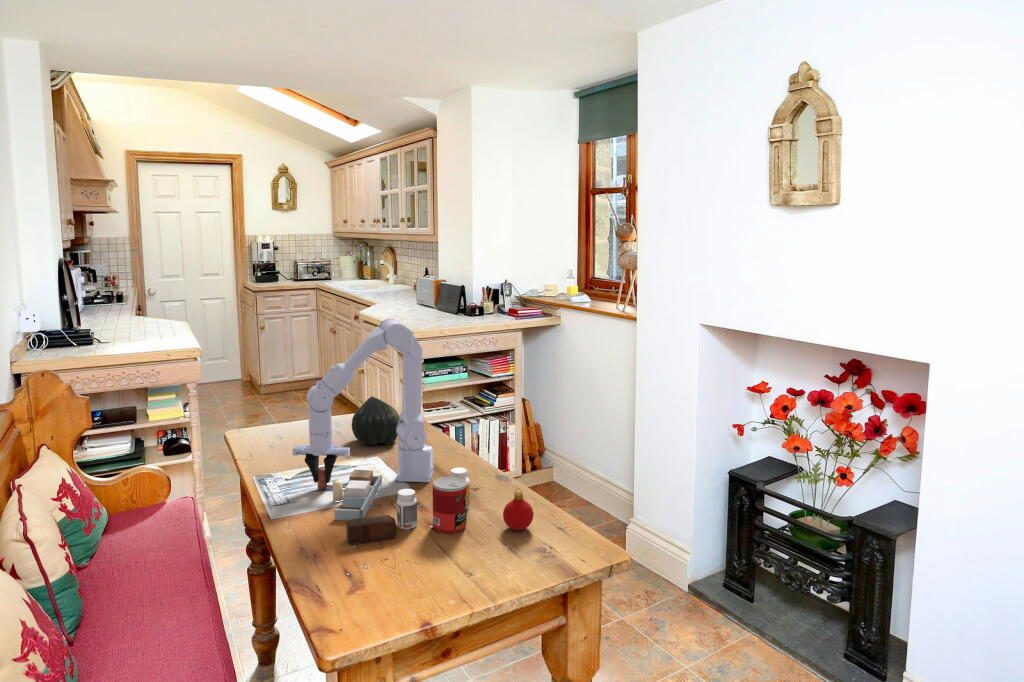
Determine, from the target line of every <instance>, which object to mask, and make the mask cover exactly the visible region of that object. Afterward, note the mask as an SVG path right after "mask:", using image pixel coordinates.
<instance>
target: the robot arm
mask: <svg viewBox="0 0 1024 682" xmlns="http://www.w3.org/2000/svg"><path fill="white" fill-rule="evenodd" d="M388 345H389V346H390V347H392V348H394V349H396V350H398V351H399V352H400V353H401V354H402V392H401V393H402V394H401V397H402V398H401V400H402V401H401V402H402V405H401V406H402V407H401V412H400V414H399V416H400V421H399V423H398V425H397V428H396V432H397V435H398V436H397V437H399V439H400V440H399V442H398V444H397V451H398V452H397V453H398V454H397V455H398V456H397V457H398V463H397V464H398V472H397V475H396V477H395V478H394V481H395V480H398V481H397V482H404V483H405V482H407V483H408V482H409V483H410V482H413V483H414V482H415V483H430V482H431V479H432V478H433V477H432V476H433V474H434V448H433V446H431V445H430V446H429V445H426V443H427V439H428V435H427V431H426V430H425V427H424V425H425V424H424V418H423V414H422V380H423V379H422V377H423V373H422V372H423V349H422V346H421V345H420V343H419V341H418V339H417V338H416V337H415V335H414V333H413V331H412V330H411V329H410V328H409V327H407V326H406V325H404V324H402V323H401V322H399V321H398V320H396V319H394V318H386V319H383V320H382V321H381V322H380V323H379V325H378V326H377V325H376V327H375V328H373V329H372V331H371V332H370V333H369V334H368V335H367V336H366V338H365V339H364V340H363V341H362V342H361V343H360V344H359V346H358V347H357V348H356V349H355V350H354V351H353V353H352V354H351V355H349V357H348V358H347V359H346V361H345V362H342V363H336V364H335V365H334V366H333V365H331V366H330V367H329V368H328V373H327V374H326V375H325V376H324V377H322V378H321V380H317V381H316V382H315V385H313V386H311V387H310V388H309V389H308V391H307V394H306V396H305V397H306V398H305V399H306V401H307V403H308V433H309V435H308V437H309V445H295V446H294V447H292V449H291V450H292V456H298V455H299V456H305V458H304V463H305V464H306V466H307V467H308V469H309V471H310V473H311V476H312V479H313V483H316V484H318V469H319V468H320V467H319V462H320V461H319V460H320V457H321V456H326V457H324V459H323V463H324V464H323V465H324V468H325V481H326V483H327V484H329V483H330V482H331V479H332V477H331V476H332V474H333V473H332V472H333V469H334V466H335V463H336V461H337V459H338V457H344V458H349V457H350V455H351V452H350V451H351V450H350V449H351V447H346V446H340V445H333V427H332V426H333V422H332V421H333V420H332V418H333V417H332V413H331V412H332V411H331V409H332V407H333V404H334V398H336V397H337V396H338V395H340V393H342V391H343V390H344V389H345V388H346V387H347V386H348V385H349V384H350V383H351V382H352V381H353V380H354V372H355V371H356V370H357V369H358V368H359V367H360V366H361V365H362V364H364V362H366V360H368V359H369V358H370V357H371V356H372V355H373V354H374V353H375V352H377V351H384V350H385V351H386V350H388V349H389V347H388Z"/></svg>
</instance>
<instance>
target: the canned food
mask: <svg viewBox="0 0 1024 682" xmlns="http://www.w3.org/2000/svg"><path fill="white" fill-rule="evenodd" d="M467 510H468V509H467V482H466V481H465V480H464V479H462V478H459V477H451V476H442V477H438V478H435V479H434V480H433V481H432V526H433V528H434V530H435V531H437V530H438V531H437V532H439V531H440V532H439V533H442V532H444V533H443V534H456V533H455V532H457V533H460V532H463V531H464V530H465V529H466V526H467V520H468V519H467V513H468V512H467ZM463 529H464V530H463ZM459 531H460V532H459Z"/></svg>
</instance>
